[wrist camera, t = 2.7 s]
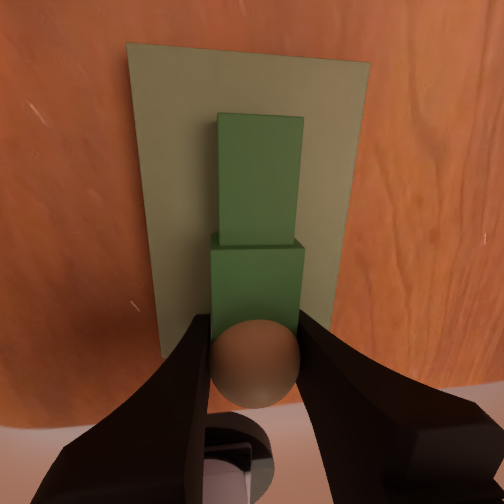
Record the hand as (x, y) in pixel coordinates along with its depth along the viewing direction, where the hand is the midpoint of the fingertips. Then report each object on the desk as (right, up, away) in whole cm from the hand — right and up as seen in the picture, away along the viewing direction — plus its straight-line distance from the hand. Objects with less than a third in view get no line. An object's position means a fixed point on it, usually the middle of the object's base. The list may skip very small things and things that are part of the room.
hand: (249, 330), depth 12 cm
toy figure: (0, +3, -1) cm, 3 cm away
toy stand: (0, +5, 0) cm, 5 cm away
